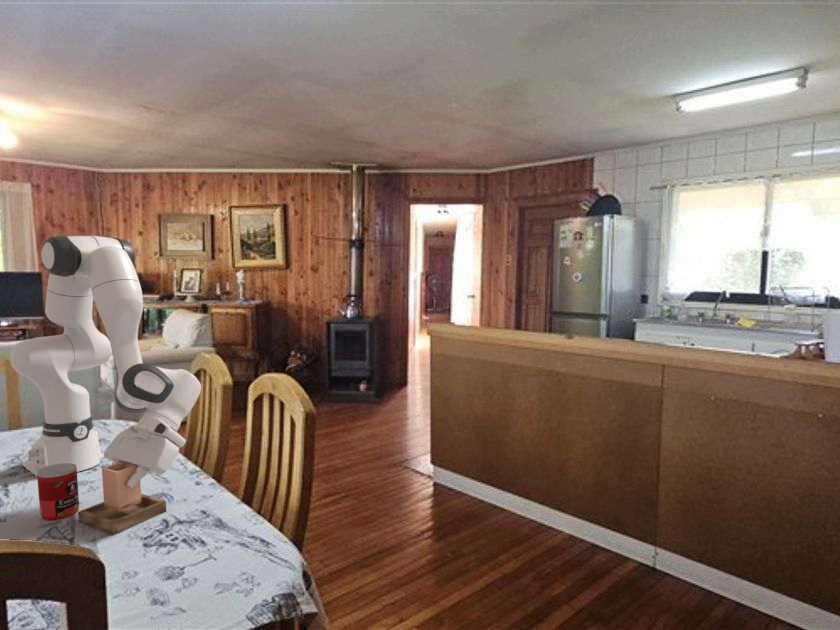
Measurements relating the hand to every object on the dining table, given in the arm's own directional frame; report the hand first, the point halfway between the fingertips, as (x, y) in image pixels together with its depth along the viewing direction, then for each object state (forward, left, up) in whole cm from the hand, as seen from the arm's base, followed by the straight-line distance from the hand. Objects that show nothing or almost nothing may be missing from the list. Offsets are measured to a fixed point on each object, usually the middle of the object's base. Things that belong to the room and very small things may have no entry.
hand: (119, 483), depth 124 cm
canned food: (-15, -5, -8) cm, 18 cm away
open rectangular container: (0, +1, -5) cm, 5 cm away
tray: (0, +1, -8) cm, 8 cm away
